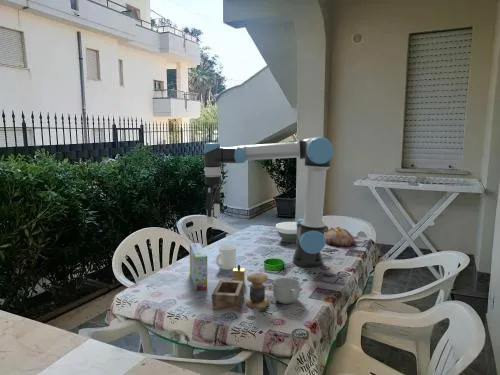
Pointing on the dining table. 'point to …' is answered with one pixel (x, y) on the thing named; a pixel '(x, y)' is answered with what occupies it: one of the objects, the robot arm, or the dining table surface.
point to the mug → (226, 257)
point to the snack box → (198, 266)
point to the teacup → (286, 290)
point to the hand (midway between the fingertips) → (213, 220)
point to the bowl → (287, 231)
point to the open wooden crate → (228, 295)
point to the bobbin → (257, 291)
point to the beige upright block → (239, 274)
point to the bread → (339, 237)
